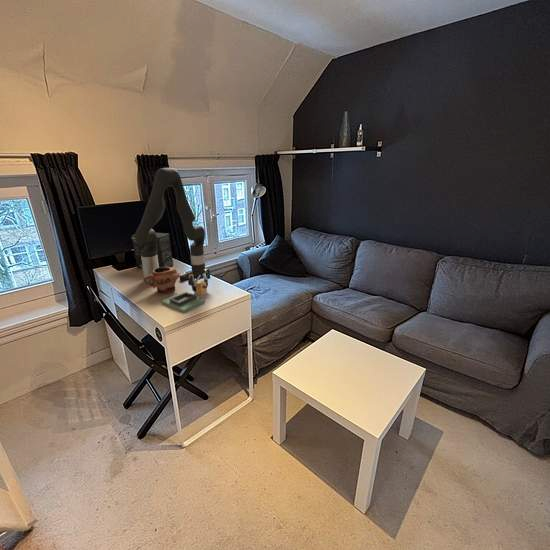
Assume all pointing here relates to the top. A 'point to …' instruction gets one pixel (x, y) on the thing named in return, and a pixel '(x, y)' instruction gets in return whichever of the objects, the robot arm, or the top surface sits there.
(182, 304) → the board
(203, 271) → the robot arm
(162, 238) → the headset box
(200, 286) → the keyed plug
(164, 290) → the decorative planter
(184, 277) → the hand tool
